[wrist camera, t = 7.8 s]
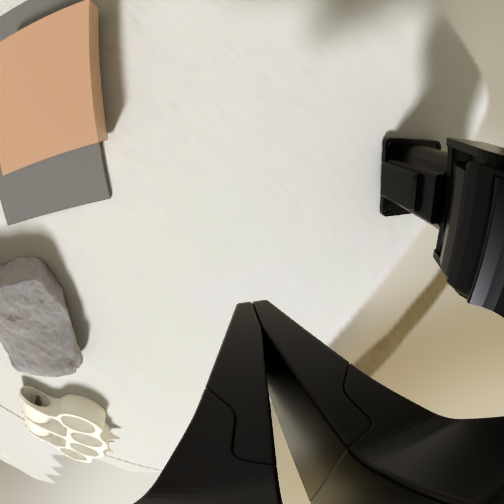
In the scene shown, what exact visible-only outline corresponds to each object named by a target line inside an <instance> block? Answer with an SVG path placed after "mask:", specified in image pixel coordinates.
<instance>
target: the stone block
mask: <svg viewBox="0 0 504 504" xmlns="http://www.w3.org/2000/svg"><path fill="white" fill-rule="evenodd" d="M0 342H1V343H2V345H3V347H4V349H5V350H6V352H7V353H8V355H9V358H10V361H11V364H12V366H13V367H14V368H15V369H16V370H17V371H19V372H24V373H29V374H32V375H39V376H49V377H59V376H64V375H69V374H73V373H75V371H76V368H79V367H80V365H81V364H82V362H83V355H82V354H81V351H80V348H79V346H78V344H77V341H76V335H75V332H74V329H73V327H72V323H71V320H70V316H69V312H68V309H67V304H66V301H65V298H64V291H63V288H62V286H61V285H60V284H59V283H58V281H57V280H56V278H55V277H54V275H53V274H52V273H51V271H50V270H49V269H48V267H47V266H46V264H45V263H44V262H43V261H42V260H41V259H40V258H37V257H32V258H31V257H18V258H16V259H14V260H12V261H9V262H8V263H7V264H4V265H0Z"/></svg>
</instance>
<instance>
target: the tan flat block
mask: <svg viewBox="0 0 504 504" xmlns="http://www.w3.org/2000/svg"><path fill="white" fill-rule="evenodd" d="M105 140H108V136H107V129H106V122H105V114H104V106H103V97H102V86H101V74H100V58H99V8H98V7H97V6H96V5H95V4H94V3H93V1H92V0H84V1H81V2H79V3H76V4H74V5H71V6H69V7H66V8H64V9H61V10H59V11H57V12H55V13H52V14H50V15H48V16H46V17H44V18H42V19H40V20H38V21H36V22H34V23H32V24H30V25H28V26H26V27H24V28H23V29H21V30H19V31H17V32H16V33H14V34H12V35H10V36H9V37H7V38H6V39H4V40H2V41H1V42H0V164H1V170H2V174H3V176H4V175H6V174H8V173H11V172H13V171H16V170H18V169H20V168H23V167H25V166H28V165H31V164H33V163H36V162H39V161H41V160H44V159H47V158H50V157H53V156H55V155H58V154H61V153H64V152H68V151H71V150H74V149H77V148H80V147H84V146H87V145H91V144H94V143H98V142H101V141H105Z"/></svg>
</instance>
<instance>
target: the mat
mask: <svg viewBox="0 0 504 504" xmlns="http://www.w3.org/2000/svg"><path fill="white" fill-rule="evenodd" d="M81 1H84V0H28V1H26V2H25V3H23V4H21V5H19V6H18V7H16V8H14V9H12V10H11V11H9V12H8V13H6V14H4V15H3V16H1V17H0V42H1V41H2V40H4V39H6V38H7V37H9V36H10V35H12V34H14V33H16V32H17V31H19V30H21V29H23V28H24V27H26V26H28V25H30V24H32V23H34V22H36V21H38V20H40V19H42V18H44V17H46V16H48V15H50V14H52V13H55V12H57V11H59V10H61V9H64V8H66V7H69V6H71V5H74V4H76V3H79V2H81ZM110 198H111V195H110V191H109V186H108V181H107V176H106V171H105V166H104V161H103V155H102V149H101V143H100V142H98V143H94V144H91V145H87V146H84V147H80V148H77V149H74V150H71V151H68V152H64V153H61V154H58V155H55V156H53V157H50V158H47V159H44V160H41V161H39V162H36V163H33V164H31V165H28V166H25V167H23V168H20V169H18V170H16V171H13V172H11V173H8V174H6V175H4V176H3V174H2V170H1V164H0V200H1V204H2V207H3V211H4V214H5V218H6V221H7V224H8V226H9V225H12V224H15V223H18V222H21V221H25V220H28V219H31V218H35V217H38V216H42V215H45V214H49V213H53V212H56V211H60V210H64V209H68V208H72V207H76V206H80V205H84V204H88V203H92V202H97V201H101V200H105V199H110Z"/></svg>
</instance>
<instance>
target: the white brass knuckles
mask: <svg viewBox="0 0 504 504" xmlns="http://www.w3.org/2000/svg"><path fill="white" fill-rule="evenodd" d="M37 394H38V395H39V397H40V399H41V403H42V406H37V405H35V398H36V395H37ZM19 396H20V398H21V402H22V408H23V410H22V413H23V414H24V419H25V427H26V428H27V429H28V431H29V432H30V433H31V434H32V435H34V436H35V437H37V438H38V439H40V440H42V441H44V442H47V443H49V444H51V445H53V446H54V447H56V448H57V449H58V450H59V451H60V452H61V453H62V454H64V455H66V456H67V457H70V458H72V459H74V460H78V461H82V462H92V461H93V458H101V457H103V456H104V455H105V454H106V452H113V451H112V450H111V449H110V448H109V441H112V440H116V439H120V438H119V437H118V436H116V435H115V434H113V433H112V432H110V428H109V425H108V424H106V422H105V417H106V412H105V410H104V409H103V408H102V407H101V406H100V405H98V404H97V403H95V402H94V401H92V400H90V399H88V398H85V397H82V396H78V395H65V396H63V397H62V398H53V397H51V396H49V395H47V394H45V393H43V392H42V391H40V390H38V389H36V388H34V387H30V386H23V387H21V389H20V393H19Z"/></svg>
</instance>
